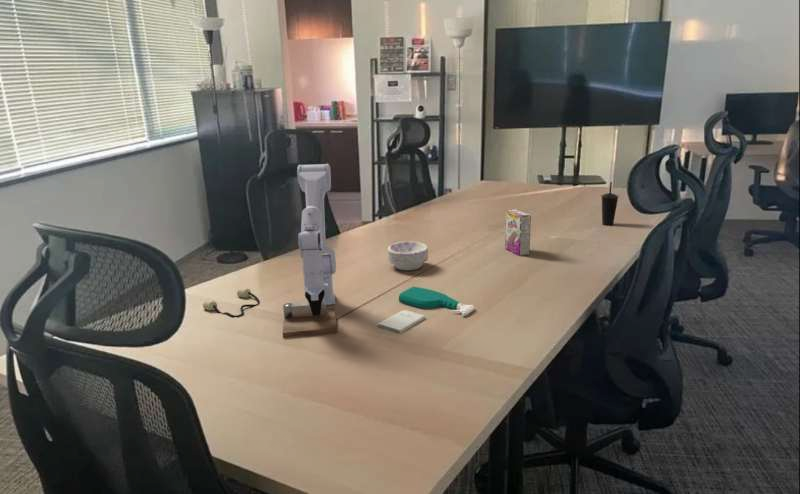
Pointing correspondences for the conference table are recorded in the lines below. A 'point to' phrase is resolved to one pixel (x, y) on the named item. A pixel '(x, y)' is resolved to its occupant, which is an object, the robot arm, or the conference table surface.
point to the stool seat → (310, 325)
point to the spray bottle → (432, 300)
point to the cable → (241, 293)
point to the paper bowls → (407, 255)
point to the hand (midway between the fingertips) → (316, 314)
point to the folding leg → (301, 309)
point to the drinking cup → (609, 207)
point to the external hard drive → (401, 321)
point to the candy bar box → (518, 232)
